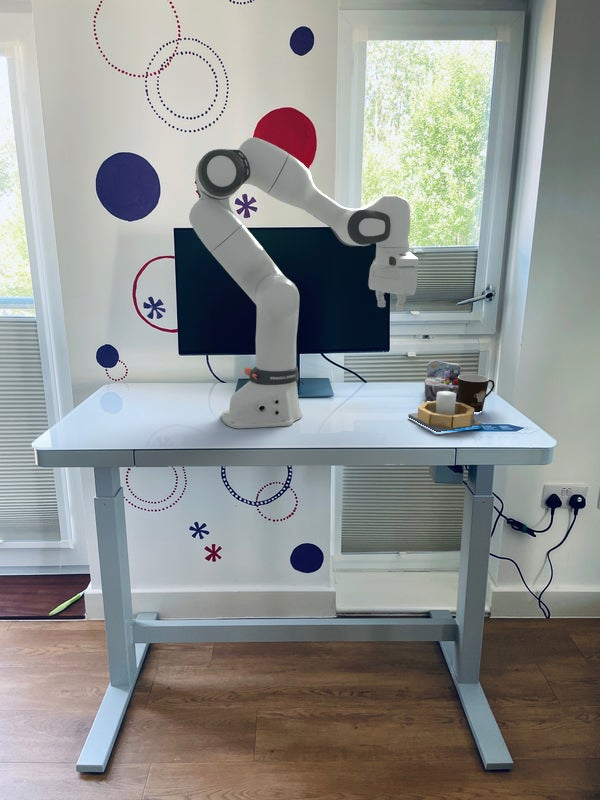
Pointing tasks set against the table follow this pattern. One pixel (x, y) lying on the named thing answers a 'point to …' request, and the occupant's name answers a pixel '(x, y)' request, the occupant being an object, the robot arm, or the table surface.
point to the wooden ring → (442, 420)
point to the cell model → (441, 379)
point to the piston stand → (444, 411)
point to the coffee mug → (473, 390)
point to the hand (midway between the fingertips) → (389, 309)
